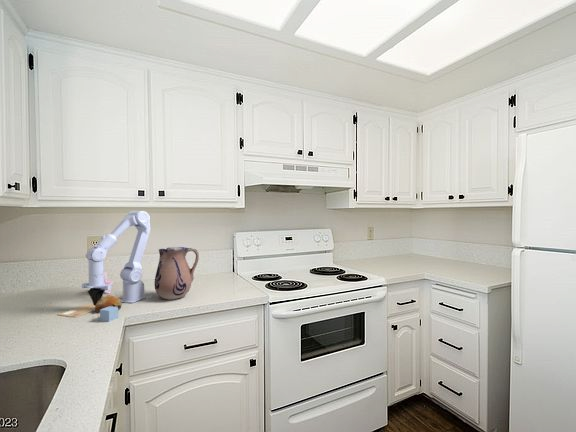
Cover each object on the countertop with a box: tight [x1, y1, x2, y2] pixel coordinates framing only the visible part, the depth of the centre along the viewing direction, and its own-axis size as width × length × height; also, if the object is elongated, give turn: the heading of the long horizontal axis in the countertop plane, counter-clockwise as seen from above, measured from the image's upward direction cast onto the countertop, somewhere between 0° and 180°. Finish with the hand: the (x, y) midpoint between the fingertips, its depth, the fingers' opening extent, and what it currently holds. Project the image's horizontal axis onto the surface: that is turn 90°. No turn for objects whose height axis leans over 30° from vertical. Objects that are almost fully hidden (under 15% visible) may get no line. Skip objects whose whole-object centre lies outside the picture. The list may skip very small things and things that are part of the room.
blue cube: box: [99, 306, 119, 323], centre depth 122 cm, size 4×4×4 cm
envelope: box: [56, 302, 96, 318], centre depth 133 cm, size 16×10×1 cm, turn 165°
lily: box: [104, 272, 114, 294], centre depth 160 cm, size 12×12×10 cm
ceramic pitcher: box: [153, 246, 200, 301], centre depth 153 cm, size 18×21×25 cm
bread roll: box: [94, 294, 123, 314], centre depth 134 cm, size 10×10×8 cm
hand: (96, 304), depth 135 cm, fingers closed
